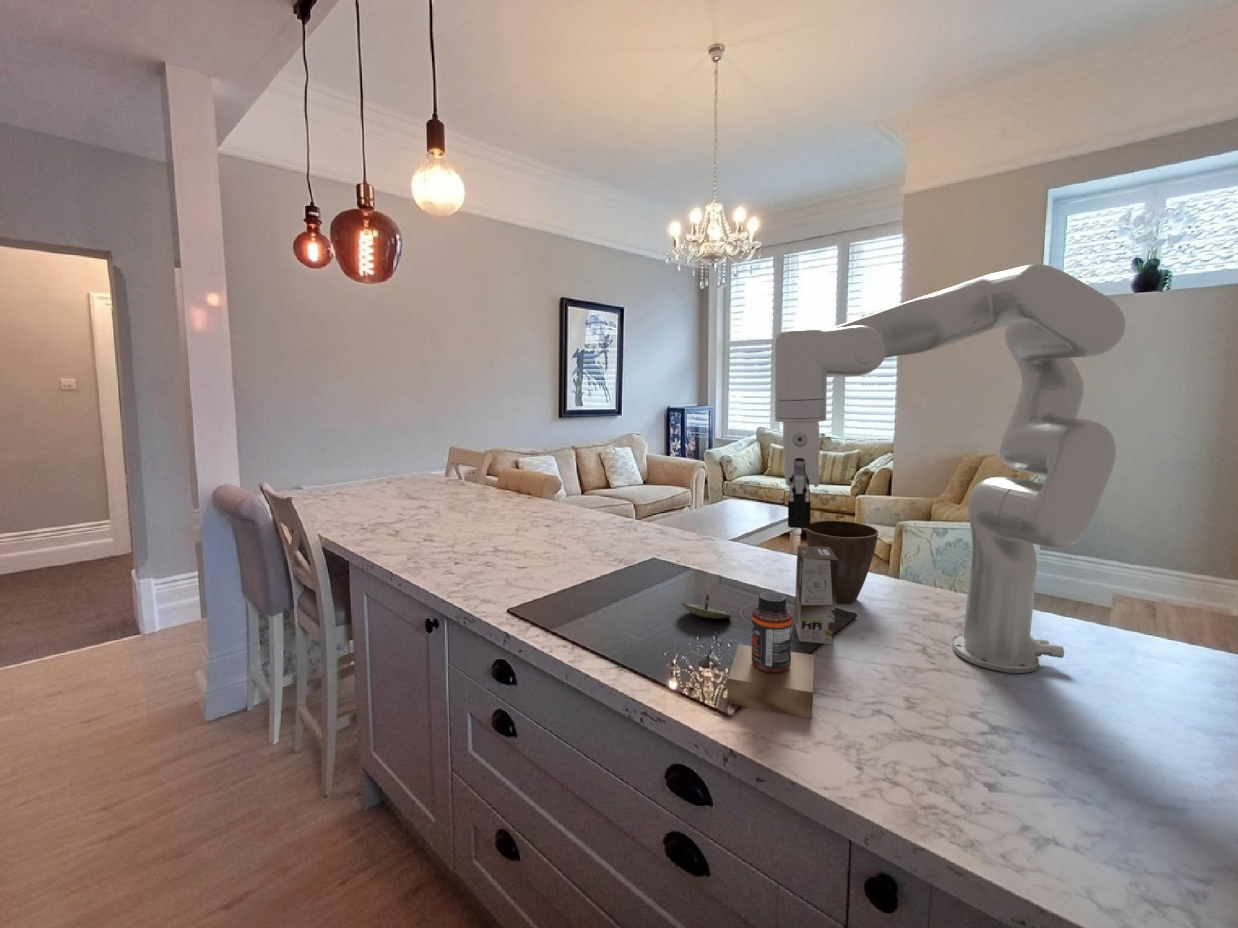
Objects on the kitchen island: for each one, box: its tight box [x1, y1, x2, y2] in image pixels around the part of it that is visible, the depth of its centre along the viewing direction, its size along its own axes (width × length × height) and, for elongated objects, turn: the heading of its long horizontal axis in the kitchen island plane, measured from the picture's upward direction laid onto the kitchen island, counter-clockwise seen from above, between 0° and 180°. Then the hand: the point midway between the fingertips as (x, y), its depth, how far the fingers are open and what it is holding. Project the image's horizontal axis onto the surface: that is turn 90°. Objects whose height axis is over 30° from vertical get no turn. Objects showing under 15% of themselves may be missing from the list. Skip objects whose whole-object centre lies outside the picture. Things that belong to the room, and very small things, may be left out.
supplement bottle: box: [751, 591, 793, 673], centre depth 88 cm, size 6×6×11 cm
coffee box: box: [794, 545, 838, 645], centre depth 109 cm, size 9×6×16 cm
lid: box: [680, 593, 733, 619], centre depth 116 cm, size 11×10×5 cm
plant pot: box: [805, 520, 879, 605], centre depth 127 cm, size 15×15×16 cm
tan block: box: [726, 644, 814, 719], centre depth 89 cm, size 12×12×4 cm
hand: (799, 519), depth 90 cm, fingers open, 9 cm apart
